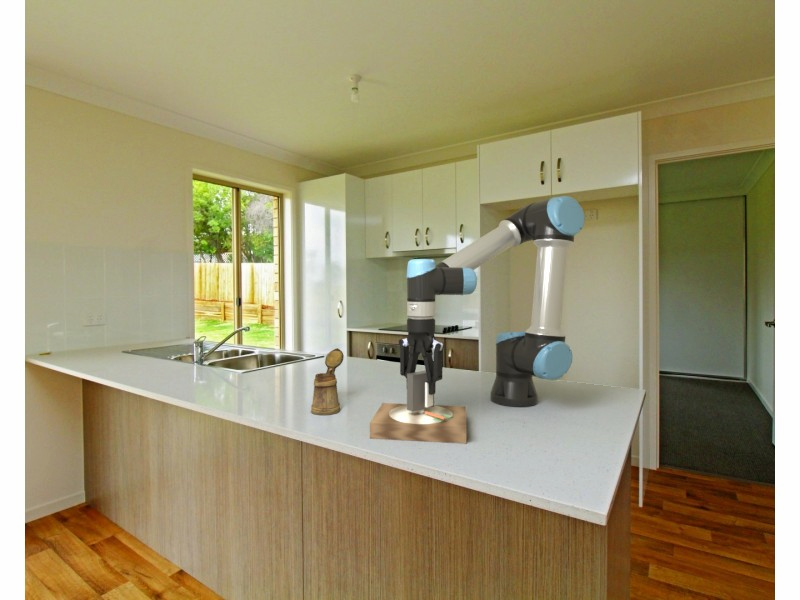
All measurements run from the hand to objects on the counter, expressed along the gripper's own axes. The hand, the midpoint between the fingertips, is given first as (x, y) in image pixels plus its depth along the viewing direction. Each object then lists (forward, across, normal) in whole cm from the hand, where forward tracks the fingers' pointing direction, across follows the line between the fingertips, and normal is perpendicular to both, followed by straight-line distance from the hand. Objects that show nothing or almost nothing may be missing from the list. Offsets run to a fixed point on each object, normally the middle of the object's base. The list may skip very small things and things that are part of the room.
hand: (420, 404), depth 116 cm
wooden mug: (+7, -33, -3) cm, 34 cm away
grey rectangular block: (+2, +4, -1) cm, 4 cm away
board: (+7, 0, 0) cm, 7 cm away
